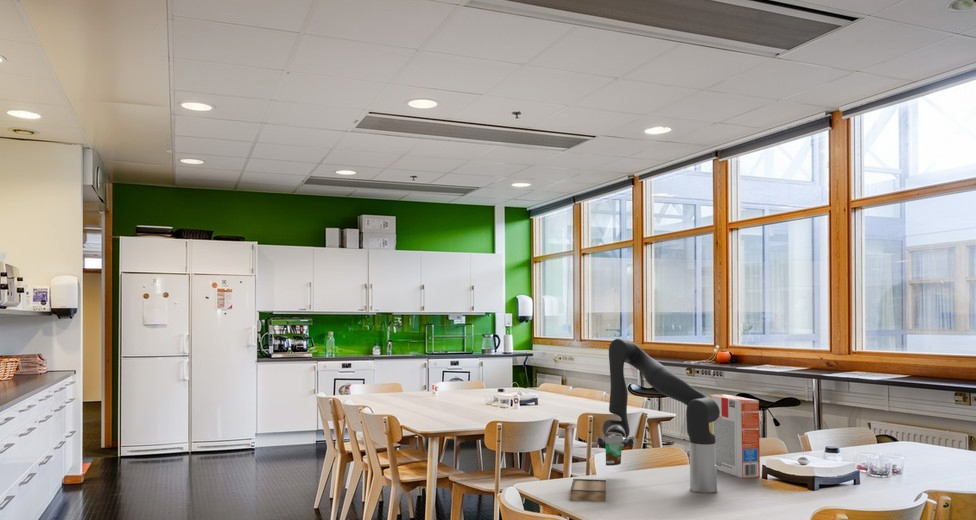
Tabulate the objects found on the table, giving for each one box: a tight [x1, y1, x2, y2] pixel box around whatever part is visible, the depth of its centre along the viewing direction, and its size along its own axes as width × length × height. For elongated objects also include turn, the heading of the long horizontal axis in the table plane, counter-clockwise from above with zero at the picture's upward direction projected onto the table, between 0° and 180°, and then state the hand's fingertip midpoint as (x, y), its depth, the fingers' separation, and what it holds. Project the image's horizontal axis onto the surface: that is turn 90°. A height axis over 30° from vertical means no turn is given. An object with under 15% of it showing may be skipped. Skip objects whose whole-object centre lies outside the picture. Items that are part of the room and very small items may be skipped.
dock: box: [570, 478, 607, 502], centre depth 277 cm, size 12×18×3 cm, turn 171°
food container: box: [604, 432, 624, 466], centre depth 278 cm, size 12×6×10 cm, turn 168°
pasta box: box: [708, 393, 761, 479], centre depth 318 cm, size 23×8×30 cm, turn 17°
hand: (615, 444), depth 278 cm, fingers closed on food container, 6 cm apart
